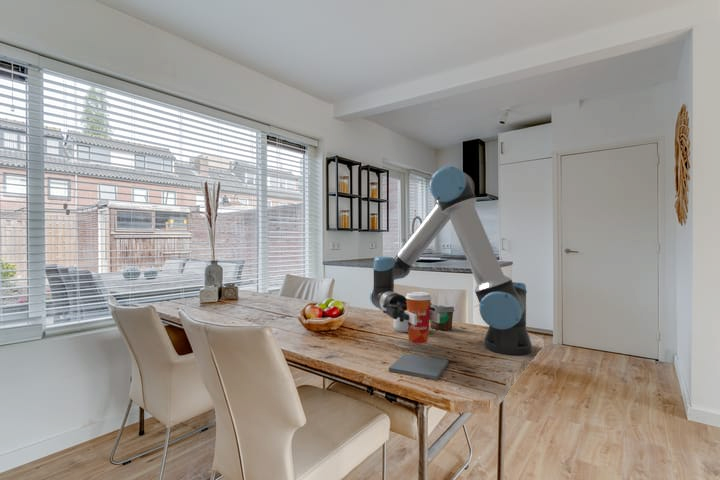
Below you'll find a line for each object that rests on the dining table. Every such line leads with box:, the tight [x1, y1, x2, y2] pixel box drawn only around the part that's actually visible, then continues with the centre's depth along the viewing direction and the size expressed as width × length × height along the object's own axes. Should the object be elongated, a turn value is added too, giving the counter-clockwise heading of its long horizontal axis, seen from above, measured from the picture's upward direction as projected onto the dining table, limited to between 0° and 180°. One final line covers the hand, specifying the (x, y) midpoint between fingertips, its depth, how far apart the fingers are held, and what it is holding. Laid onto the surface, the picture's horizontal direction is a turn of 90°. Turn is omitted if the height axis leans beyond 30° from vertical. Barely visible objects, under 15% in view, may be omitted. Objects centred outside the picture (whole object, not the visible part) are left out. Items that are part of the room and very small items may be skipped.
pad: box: [388, 353, 449, 381], centre depth 105 cm, size 14×14×1 cm
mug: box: [392, 317, 408, 333], centre depth 148 cm, size 12×9×11 cm
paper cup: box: [404, 291, 433, 344], centre depth 105 cm, size 8×8×14 cm
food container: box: [429, 302, 455, 332], centre depth 148 cm, size 12×6×10 cm, turn 42°
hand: (427, 319), depth 100 cm, fingers closed on paper cup, 6 cm apart
